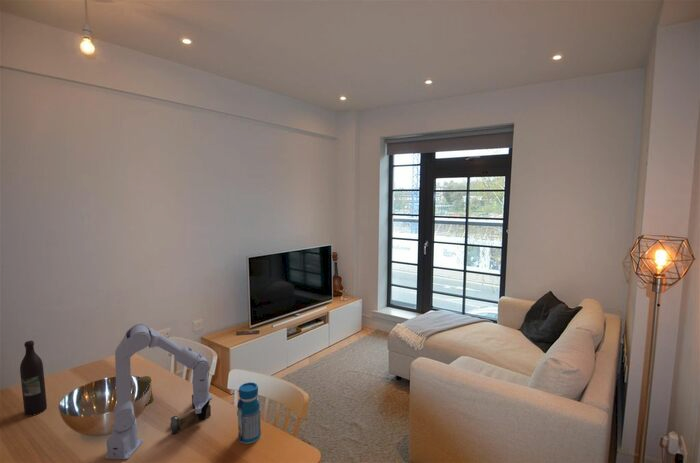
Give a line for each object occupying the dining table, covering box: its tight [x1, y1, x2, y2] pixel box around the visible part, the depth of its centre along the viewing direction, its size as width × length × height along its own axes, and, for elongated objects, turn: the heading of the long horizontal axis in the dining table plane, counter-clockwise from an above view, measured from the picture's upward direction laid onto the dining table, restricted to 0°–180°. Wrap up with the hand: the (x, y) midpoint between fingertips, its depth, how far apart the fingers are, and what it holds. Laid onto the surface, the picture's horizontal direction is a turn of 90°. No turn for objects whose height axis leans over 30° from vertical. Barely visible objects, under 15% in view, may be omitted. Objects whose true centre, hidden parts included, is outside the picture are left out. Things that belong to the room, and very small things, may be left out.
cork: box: [137, 375, 154, 405], centre depth 158 cm, size 6×6×11 cm
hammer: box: [169, 394, 195, 436], centre depth 148 cm, size 22×4×6 cm, turn 178°
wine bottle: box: [19, 340, 48, 416], centre depth 149 cm, size 7×7×30 cm
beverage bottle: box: [236, 382, 262, 445], centre depth 135 cm, size 8×8×20 cm
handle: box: [178, 404, 212, 431], centre depth 144 cm, size 13×2×5 cm, turn 139°
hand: (202, 419), depth 144 cm, fingers closed
